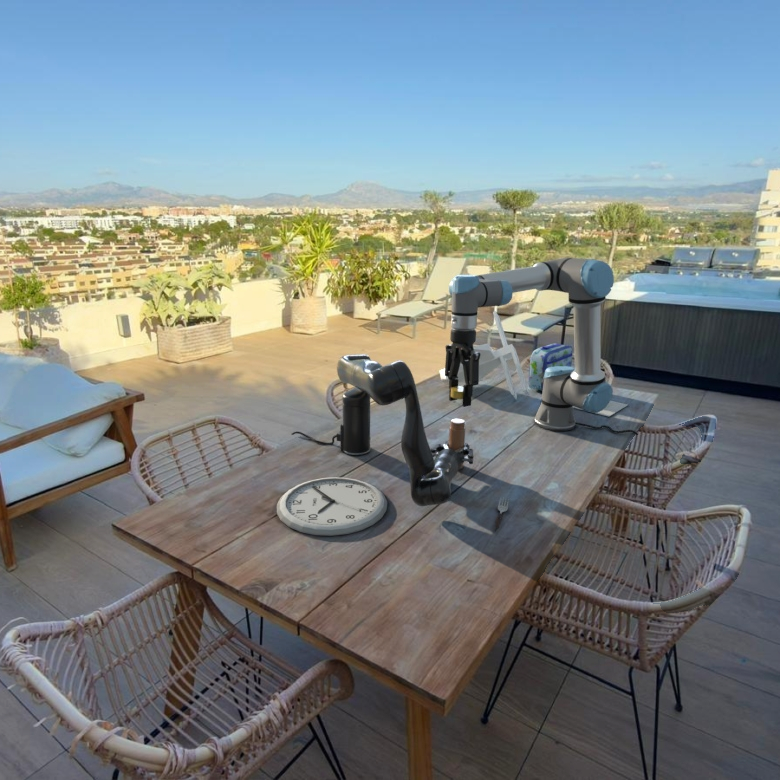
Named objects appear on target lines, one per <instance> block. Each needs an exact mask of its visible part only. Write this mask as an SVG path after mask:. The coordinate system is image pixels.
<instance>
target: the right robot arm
mask: <svg viewBox="0 0 780 780" xmlns="http://www.w3.org/2000/svg"><path fill="white" fill-rule="evenodd" d="M614 283H615V277H614V272H613V269H612V267H611V266H610V265H609V263H607V262H606V261H604V260H598V259H596V258H595V259H594V258H578V257H577V258H576V257H561V258H556V259H550V260H546V261H539V262H536V263H535V264H534V265H533V266H528V267H522V268H516V269H515V268H514V269H508V270H503V271H495V272H491V273H490V272H489V273H484V274H478V275H474V274H457V275H455V276H454V277H453V278H452V279H451V280H450V282H449V285H448V292H449V295H450V296H451V318H450V328H451V329H450V336H449V337H450V339H449V340H450V342H451V344H446V345H445V353H446V354H445V363H444V364H445V365H444V368H445V376H447V377H448V379H449V385H448V389H449V395H448V401H450V402H453V401H456V400H458V399H455V398H452V397H451V388H452V387H454V386H459V384H458V379H456V378H458V376H457V374H458V370H459V367H460V363H461V364H463V370H464V377H465V383H464V384H463V385H462V386H463V399H462V407H463V408H466V407H470V406H472V397H473V395H474V394H473V393H474V386H478V385H479V383H480V382H479V359H480V353H476V352H475V351H474V348H473V347H474V344H475V342H476V340H477V330H476V329H477V327H478V326H477V325H478V310H479V309H480V308H487V307H500V306H501V307H502V306H506V305H508V304H509V303H510V302H511V301H512V298H513V294H514V293H519V292H525V291H531V290H536V291H540V292H543V291H555V292H561V293H567V294H568V303H569V304H570V305H571V306H573V337H574V338H573V345H574V351H573V353H574V366H571V367H569V366H555V367H549V368H547V369H546V370H545V375H544V379H543V391H541V402H540V405H539V407H538V410H537V411H536V413H535V415H534V424H535V425H536V426H537V427H539V428H542V429H544V430H549V431H556V432H567V431H572V430H574V429H575V428H576V425H577V426H581V427H586V428H588V429H589V428H590V429H593V430H601V429H603V428H604V429H605V428H606V429H608V430H609V432H611V433H614V434H624V433H632V434H634V435H636V436H639V433H638V432H637V431H635V430H633V429H623V430H615V429H613V428H612V427H611V426H609V425H607V424H603V425H600V426H593V425H591V424H586V423H582V422H577V421H576V418H575V417H576V416H575V413H574V407H578V408H580V409H583V410H582V411H584V412H587V413H593V414H596V413H597V412H600V411H602V410H603V409H604V408H605V407H606V406H607V405H608V403H609V402H610V401H612V397H613V394H614V393H613V392H614V390H613V386H612V385H611V384H610V383H608V382H606V373H605V372H604V371H603V370H602V367H601V365H602V364H601V361H602V360H601V355H602V353H601V352H602V351H601V344H602V343H601V341H602V337H601V336H602V335H601V334H602V329H601V328H602V327H601V323H602V321H601V320H602V319H601V318H602V317H601V316H602V315H601V310H602V309H601V307H602V306H601V305H602V304H603V303H604V302H605V301H606V297H607V296H609V294H610V292H611V291H612V288H613V286H614ZM478 308H479V309H478ZM465 360H468V361H465ZM448 371H450V372H448ZM469 381H470V382H469ZM580 409H579V410H580Z"/></svg>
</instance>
